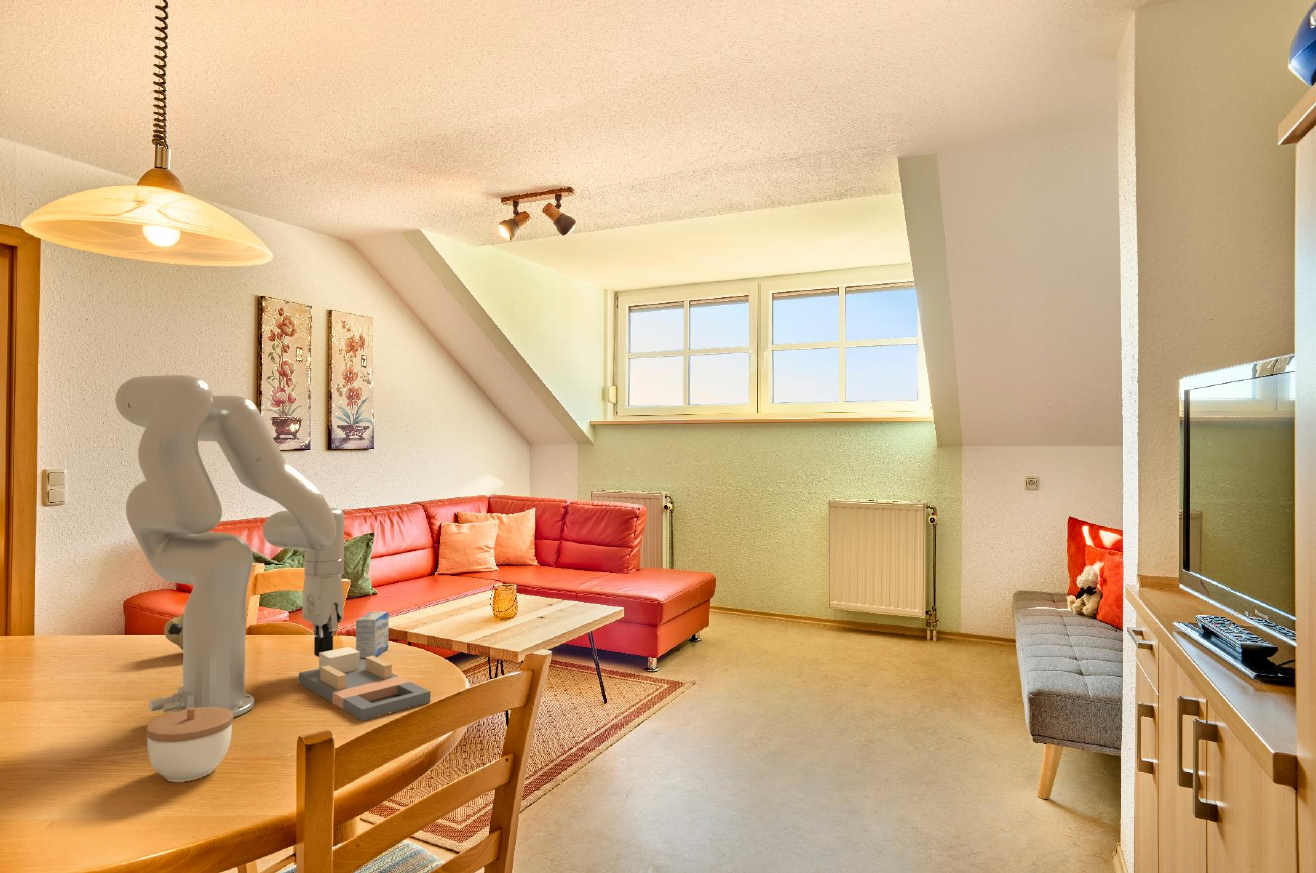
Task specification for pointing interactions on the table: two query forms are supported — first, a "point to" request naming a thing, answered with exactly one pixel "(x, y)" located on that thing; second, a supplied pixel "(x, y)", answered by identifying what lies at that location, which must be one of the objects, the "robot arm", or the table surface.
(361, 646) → the medicine box
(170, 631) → the toy pig
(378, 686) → the deck
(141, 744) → the table surface
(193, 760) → the lidded jar
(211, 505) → the robot arm
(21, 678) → the table surface
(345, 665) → the block
